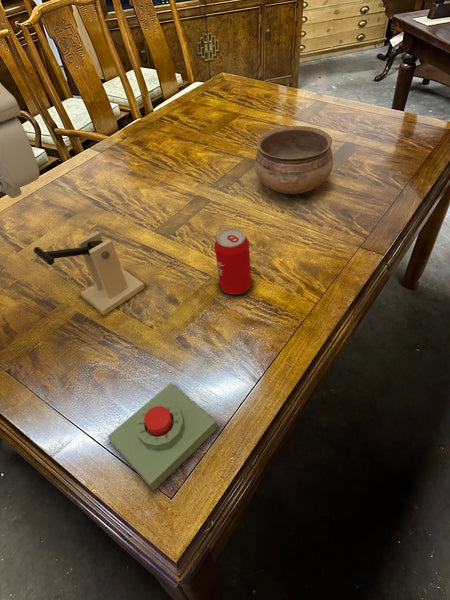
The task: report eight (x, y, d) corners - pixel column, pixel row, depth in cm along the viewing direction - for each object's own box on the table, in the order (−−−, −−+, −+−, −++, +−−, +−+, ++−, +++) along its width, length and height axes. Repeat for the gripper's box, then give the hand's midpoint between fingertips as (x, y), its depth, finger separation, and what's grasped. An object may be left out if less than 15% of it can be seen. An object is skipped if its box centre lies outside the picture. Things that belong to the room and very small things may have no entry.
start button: (157, 441, 57) (155, 434, 56) (141, 424, 59) (138, 418, 58) (177, 422, 58) (175, 416, 57) (161, 407, 60) (159, 401, 59)
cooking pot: (328, 217, 96) (334, 168, 88) (248, 213, 100) (245, 166, 92) (331, 164, 113) (336, 119, 105) (262, 163, 117) (261, 119, 109)
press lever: (47, 269, 68) (47, 255, 67) (33, 256, 71) (33, 243, 70) (110, 259, 77) (112, 247, 76) (96, 249, 80) (97, 237, 79)
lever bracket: (104, 315, 80) (82, 264, 71) (82, 296, 84) (58, 246, 75) (145, 287, 85) (129, 236, 76) (122, 271, 89) (104, 221, 80)
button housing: (153, 491, 56) (147, 478, 53) (111, 443, 61) (103, 430, 58) (217, 429, 61) (214, 415, 58) (173, 390, 67) (168, 375, 64)
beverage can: (236, 271, 86) (231, 222, 77) (258, 285, 82) (255, 235, 74) (213, 286, 83) (206, 238, 75) (235, 301, 79) (230, 252, 71)
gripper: (-90, 87, 56) (-35, 181, 66) (-32, 121, 45) (23, 228, 54) (-43, 73, 59) (3, 165, 68) (23, 102, 48) (66, 206, 57)
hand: (12, 193), depth 61 cm, fingers closed
